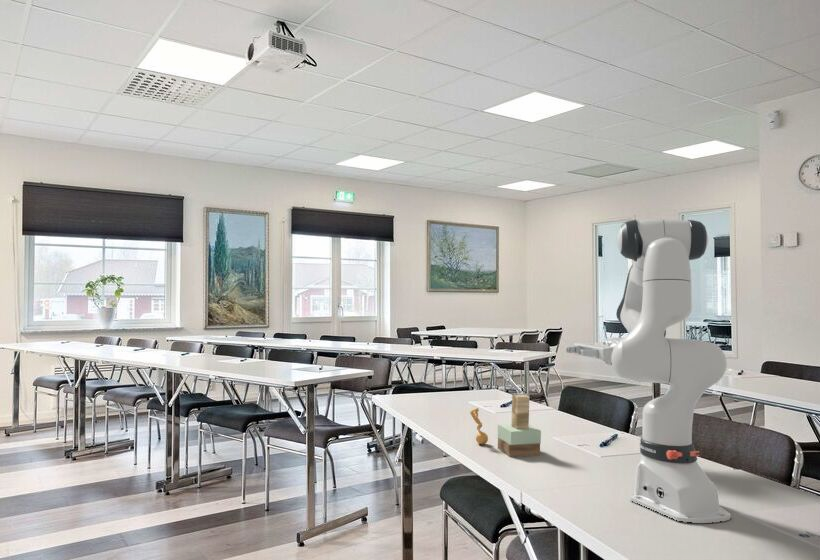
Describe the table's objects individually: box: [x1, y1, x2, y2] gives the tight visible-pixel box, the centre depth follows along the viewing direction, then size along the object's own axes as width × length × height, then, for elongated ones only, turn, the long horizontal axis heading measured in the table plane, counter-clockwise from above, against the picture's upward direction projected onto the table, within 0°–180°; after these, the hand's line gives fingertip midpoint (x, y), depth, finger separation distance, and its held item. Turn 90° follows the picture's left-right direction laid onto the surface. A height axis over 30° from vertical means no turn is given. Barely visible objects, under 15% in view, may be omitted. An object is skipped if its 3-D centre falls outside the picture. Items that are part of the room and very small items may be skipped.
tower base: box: [497, 437, 541, 458], centre depth 187 cm, size 10×10×4 cm
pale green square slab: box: [497, 423, 542, 445], centre depth 187 cm, size 10×10×4 cm
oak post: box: [510, 393, 531, 429], centre depth 187 cm, size 4×4×10 cm
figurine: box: [469, 407, 489, 446], centre depth 195 cm, size 8×6×12 cm
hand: (573, 351), depth 186 cm, fingers open, 8 cm apart
